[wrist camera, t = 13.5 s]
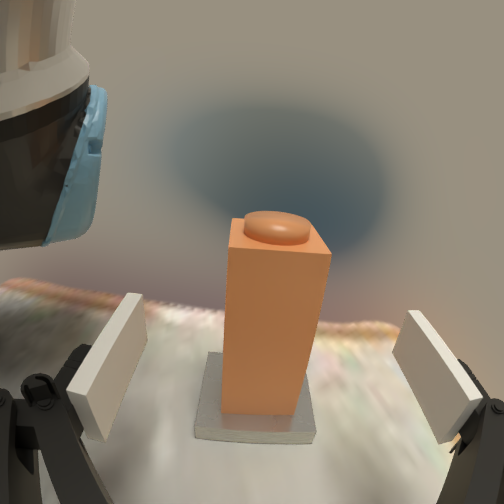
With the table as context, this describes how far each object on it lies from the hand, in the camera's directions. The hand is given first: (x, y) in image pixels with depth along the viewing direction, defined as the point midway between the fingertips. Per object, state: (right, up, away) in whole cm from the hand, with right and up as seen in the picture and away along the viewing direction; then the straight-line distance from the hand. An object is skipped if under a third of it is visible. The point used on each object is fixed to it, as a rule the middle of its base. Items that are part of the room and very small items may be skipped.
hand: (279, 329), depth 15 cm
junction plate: (-1, -8, +8) cm, 11 cm away
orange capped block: (-1, -6, +7) cm, 10 cm away
